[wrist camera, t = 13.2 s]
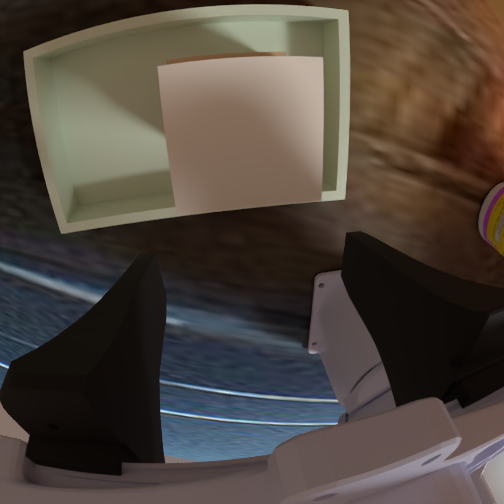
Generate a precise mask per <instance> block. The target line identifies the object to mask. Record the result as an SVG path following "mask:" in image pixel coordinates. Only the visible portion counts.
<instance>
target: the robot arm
mask: <svg viewBox="0 0 504 504" xmlns="http://www.w3.org/2000/svg"><path fill="white" fill-rule="evenodd" d="M321 283H323V284H322V285H319V284H321ZM165 324H166V293H165V289H164V285H163V281H162V276H161V272H160V268H159V264H158V259H157V255H156V253H148V254H140V255H139V256H138V257H137V258H136V260H135V261H134V262H133V263H132V264H131V266H130V267H129V268H128V269H127V270H126V272H125V273H124V274H123V275H122V276H121V277H120V279H119V280H118V281H117V282H116V283H115V284H114V286H113V287H112V288H111V289H110V290H109V291H108V292H107V293H106V294H105V295H104V296H103V297H102V298H101V299H100V301H98V302H97V303H96V304H95V305H94V306H93V307H92V308H91V309H90V310H89V311H88V312H87V313H86V314H84V315H83V316H82V317H81V318H80V319H79V320H77V321H76V322H75V323H73V324H72V325H71V326H70V327H68V328H67V329H66V330H64V331H63V332H62V333H60V334H59V335H57V336H56V337H54V338H53V339H51V340H50V341H48V342H47V343H45V344H43V345H42V346H40V347H38V348H37V349H35V350H33V351H31V352H29V353H27V354H25V355H23V356H21V357H19V358H17V359H15V360H13V361H11V364H10V366H9V369H8V371H7V374H6V376H5V379H4V381H3V384H2V387H1V390H0V402H1V404H2V406H3V408H4V409H5V410H6V412H7V413H8V414H9V415H10V416H11V417H12V418H13V419H14V420H15V421H16V422H17V423H18V424H19V425H20V426H21V427H22V428H23V429H24V430H25V431H26V432H27V433H28V434H29V435H30V436H29V441H28V444H27V443H26V442H24V441H22V440H19V439H16V438H11V437H7V436H2V435H0V504H496V501H495V499H494V497H493V495H492V493H491V491H490V489H489V487H488V485H487V483H486V481H485V479H484V477H483V475H482V474H483V471H484V469H485V467H486V465H487V463H488V462H489V461H490V460H491V459H493V458H494V457H496V456H497V455H499V454H500V453H501V452H503V451H504V288H498V287H492V286H488V285H484V284H479V283H475V282H472V281H468V280H465V279H462V278H459V277H456V276H453V275H450V274H447V273H444V272H442V271H440V270H437V269H435V268H432V267H430V266H428V265H425V264H423V263H421V262H419V261H417V260H415V259H413V258H411V257H409V256H407V255H405V254H404V253H402V252H400V251H398V250H396V249H394V248H392V247H391V246H389V245H387V244H385V243H383V242H382V241H380V240H378V239H376V238H374V237H372V236H370V235H368V234H366V233H364V232H361V231H358V232H347V233H346V239H345V247H344V255H343V262H342V270H338V271H332V272H325V273H320V274H318V275H316V277H315V281H314V292H313V303H312V313H311V323H310V333H309V342H308V352H309V353H311V354H314V353H319V354H320V356H321V359H322V362H323V364H324V367H325V369H326V372H327V375H328V377H329V380H330V383H331V385H332V388H333V390H334V393H335V396H336V398H337V400H338V401H339V403H340V404H341V405H342V406H343V407H345V409H346V413H344V414H342V415H341V416H340V418H339V421H338V424H337V425H332V426H328V427H324V428H319V429H316V430H313V431H310V432H307V433H304V434H300V435H297V436H294V437H293V438H291V439H289V440H287V441H285V442H283V443H281V444H280V445H278V446H277V447H276V448H275V449H274V451H273V452H272V454H270V455H263V456H256V457H248V458H240V459H231V460H221V461H209V462H192V463H165V459H164V451H163V442H162V430H161V416H160V387H159V376H160V364H161V355H162V347H163V340H164V332H165Z"/></svg>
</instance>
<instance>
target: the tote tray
mask: <svg viewBox="0 0 504 504" xmlns="http://www.w3.org/2000/svg"><path fill="white" fill-rule="evenodd" d="M244 52H286V56H306V57H323V78H324V131H323V172H322V197H321V201H330V200H343V199H345V192H346V178H347V162H348V143H349V116H350V40H349V15H348V10H340V9H332V8H323V7H312V6H297V5H272V4H249V5H223V6H209V7H198V8H188V9H180V10H173V11H166V12H160V13H154V14H148V15H143V16H137V17H133V18H128V19H123V20H119V21H115V22H111V23H107V24H103V25H99V26H95V27H92V28H88V29H85V30H82V31H78V32H75V33H72V34H69V35H66V36H63V37H60V38H57V39H54V40H51V41H49V42H46V43H43V44H41V45H38V46H36V47H33V48H31V49H28V50H26V51H24V52H23V54H24V66H25V76H26V84H27V92H28V99H29V106H30V112H31V118H32V123H33V129H34V134H35V139H36V144H37V148H38V153H39V157H40V162H41V166H42V170H43V174H44V178H45V182H46V185H47V189H48V193H49V196H50V200H51V203H52V206H53V210H54V213H55V216H56V219H57V222H58V225H59V229H60V232H61V234H64V233H70V232H76V231H82V230H88V229H95V228H101V227H107V226H114V225H121V224H127V223H134V222H141V221H148V220H156V219H163V218H170V217H178V216H177V212H176V206H175V200H174V194H173V187H172V181H171V174H170V168H169V161H168V154H167V146H166V139H165V131H164V123H163V115H162V106H161V97H160V88H159V78H158V67H157V66H163V65H166V60H171V59H178V58H186V57H194V56H203V55H214V54H227V53H244ZM313 202H318V201H313ZM302 203H306V202H302ZM291 204H295V203H291ZM281 205H285V204H281ZM271 206H274V205H271ZM261 207H264V206H261ZM252 208H255V207H252ZM242 209H245V208H242ZM234 210H236V209H234ZM225 211H227V210H225ZM216 212H219V211H216ZM208 213H210V212H208ZM200 214H202V213H200ZM192 215H194V214H192ZM184 216H186V215H184Z"/></svg>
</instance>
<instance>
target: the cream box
mask: <svg viewBox="0 0 504 504" xmlns="http://www.w3.org/2000/svg"><path fill="white" fill-rule="evenodd" d="M157 67H158V78H159V88H160V97H161V106H162V115H163V123H164V131H165V139H166V146H167V154H168V161H169V168H170V174H171V181H172V187H173V194H174V200H175V206H176V212H177V216H184V215H192V214H200V213H208V212H216V211H225V210H234V209H242V208H252V207H261V206H271V205H281V204H291V203H302V202H313V201H321V197H322V172H323V131H324V78H323V57H306V56H258V57H236V58H222V59H210V60H200V61H191V62H183V63H176V64H169V65H163V66H157Z"/></svg>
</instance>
